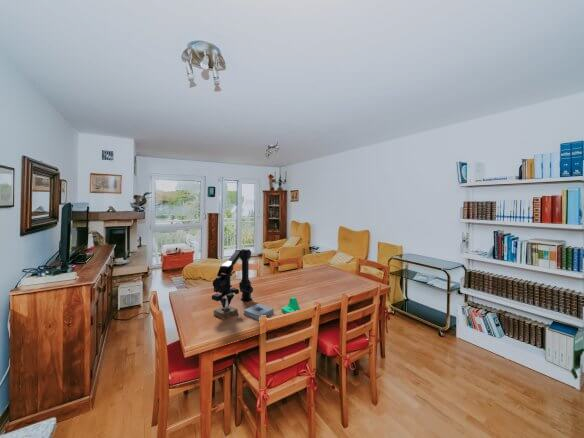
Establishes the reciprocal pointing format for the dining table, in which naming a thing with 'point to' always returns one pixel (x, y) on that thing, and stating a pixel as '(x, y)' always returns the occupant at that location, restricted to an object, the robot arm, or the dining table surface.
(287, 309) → the camera mount
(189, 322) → the dining table surface
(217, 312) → the mount block
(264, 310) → the socket plate
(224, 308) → the pin
